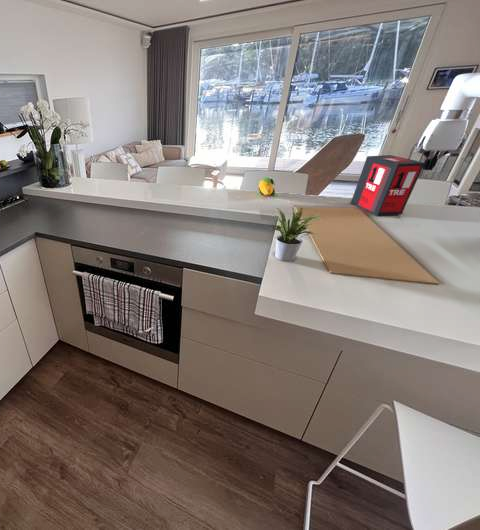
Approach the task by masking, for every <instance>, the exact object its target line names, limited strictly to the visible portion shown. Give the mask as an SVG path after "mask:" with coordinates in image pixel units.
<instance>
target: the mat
mask: <svg viewBox="0 0 480 530" xmlns="http://www.w3.org/2000/svg"><path fill="white" fill-rule="evenodd" d="M301 208H302V209H303V210H302V216H301V218H300V219H304V218H309V217H310V216H312V215H315V214H319V213H321V214H319V215H316V216H315V217H316V218H313V219H324V220H313V219H312V220H313V221H310V222H308V223H306V224H305V225H307V224H315V225H308V226H307V227H306V228H307V229H306V231H309V232H312V233H313V234H314V233H317V234H314V235H313V234H309V233H308V235H309V237H310V239H311V240H312V243H313V244H314V246H315V248H316V250H317V252H318V254H319V255H320V257H321V259H322V261H323V263H324V265H325V266H326V268H327V271H328V272H329V274H334V275H341V276H352V277H363V278H372V279H381V280H391V281H392V280H393V281H402V282H409V283H411V282H412V283H418V284H419V283H420V284H430V285H440V282H439V281H438V280H437V279H435V278H434V277H433V276H432V275H431V274H430V273H429V272H428V271H427V270H426V269H425V268H424V267H422V266H421V265H420V264H419V263H418V262H417V261H416V259H414V258H413V257H412V256H411V255H410V254H409V253H407V252H406V251H405V250H404V249H403V248H402V247H401V246H400V245H399V244H398V243H397V242H395V240H393V238H391V237H390V236H389V235H388V234H387V233H386V232H385V231H384V230H383V229H382V228H380V226H379V225H377V224H376V223H375V222H374V221H373V220H372V219H371V218H369V216H367V215H366V213H364V212H363V211H362V209H361V208H349V207H347V208H346V207H321V206H303V205H302V206H300V205H299V206H298V205H295V206H294V210H296V213H297V212H298V210H299V209H301ZM304 220H306V219H304ZM304 220H301V223H302V222H303V221H304ZM305 225H304V226H305Z"/></svg>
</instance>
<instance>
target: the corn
mask: <svg viewBox="0 0 480 530" xmlns="http://www.w3.org/2000/svg"><path fill="white" fill-rule="evenodd" d="M274 186H276V182H275V180H274V179H272V178H270V177H262V180H260V181H259V183H258V191H259V193H260V195H262V196H270V197H274V196H275V194H276V190H275V188H274Z"/></svg>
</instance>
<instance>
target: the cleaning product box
mask: <svg viewBox="0 0 480 530" xmlns="http://www.w3.org/2000/svg"><path fill="white" fill-rule="evenodd" d="M424 164H425V163H424V161H418V160H414V159H409V158H406V157H401V156H396V155H391V154H385V155H367V156H366V158H365V162H364V164H363V167H362V170H361V172H360V175H359V178H358V181H357V184H356V186H355V189H354V192H353V195H352V197H351V201H350V204H351V205H353V206H355V207H357V208H358V209H360V210H363V211H365V212H367V213H369V214H371V215H373V216H376V217H395V216H397V217H398V216H400V215H402V214H403V213H404V210H405V207H406V206H407V203H408V201H409V199H410V197H411V194H412V192H413V191H414V188H415V185H416V184H417V181H418V180H419V177H420V175H421V173H422V171H423V169H422V168H423V166H424Z"/></svg>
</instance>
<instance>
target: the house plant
mask: <svg viewBox="0 0 480 530" xmlns="http://www.w3.org/2000/svg"><path fill="white" fill-rule="evenodd" d="M276 209H277V211H278V213H279V215H280V218H279V216H277V215H275V214H274V217H276V218H277V220H278V221H279V223H280V225H279V224H274V227H271V228H270V230H273V231H278V232H280V235H278V236H276V237H275V254H274V255H275V256H274V257H275V258H276V259H278V260H279V261H281V262H292V261H293V262H294V260H295V258H296V256H297V254H298V252H299V250H300V248H301V246H302V244H303V240H302V239H301V238H303V237H305V236H308V235H309V234H313V233H312V232H309V231H307V228H306V227H307V226H308V225H315V224H307V225H305V224H306V223H308V222H310V221H313V220H324V219H313V218H316V217H315V216H316V215H319V214H321V213H319V214H315V215H312V216H310V217H309V218H304V219H306V220H304V219H301V216H302V210H303V209H302V208H301V209H299V210H298V212H297V211H296V212H295V208H294V207H293V206H292V216H291V217H292V219H291V218H288V219H287V218H286V216H285V215H286V214H284V212H282V210H281V209H280V208H277V207H276ZM312 219H313V220H312ZM302 220H304V221H303V222H302ZM300 222H301V223H300ZM302 234H305V235H302ZM314 234H317V233H314ZM314 234H313V235H314ZM300 235H302V236H300ZM299 236H300V237H299Z"/></svg>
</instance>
